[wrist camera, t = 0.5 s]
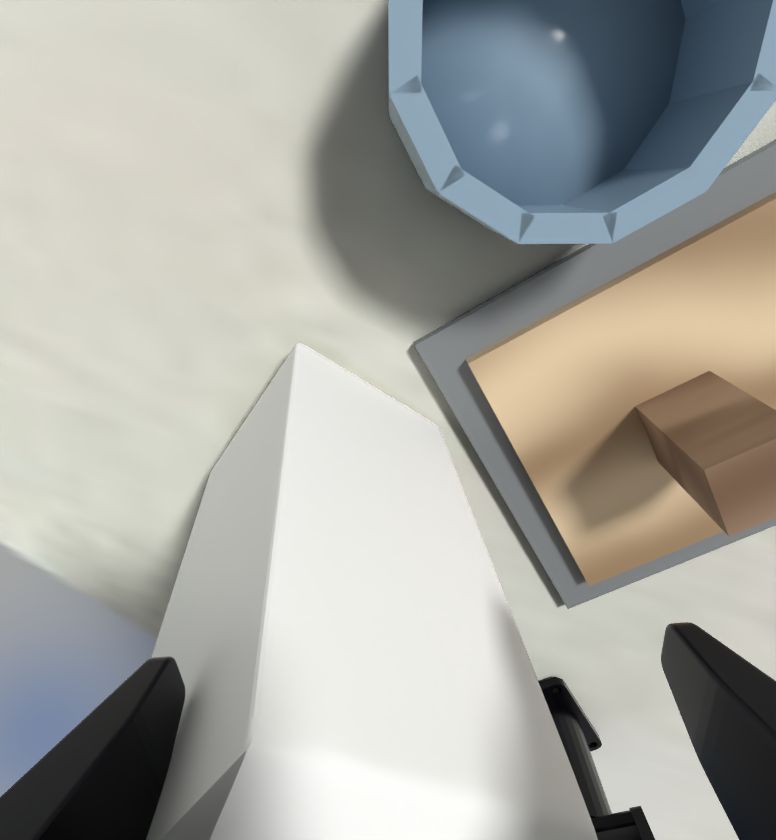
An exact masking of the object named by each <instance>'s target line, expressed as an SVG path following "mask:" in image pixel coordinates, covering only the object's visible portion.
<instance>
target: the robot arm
mask: <svg viewBox="0 0 776 840" xmlns="http://www.w3.org/2000/svg"><path fill="white" fill-rule="evenodd" d="M661 662H662V667H663V670H664V673H665V676H666V678H667V681H668V683H669V686H670V688H671V691H672V693H673V696H674V699H675V701H676V704H677V706H678V709H679V711H680V714H681V716H682V719H683V721H684V724H685V726H686V729H687V731H688V734H689V736H690V739H691V742H692V744H693V746H694V749H695V751H696V754H697V756H698V758H699V761H700V763H701V765H702V767H703V769H704V771H705V773H706V775H707V777H708V779H709V781H710V783H711V785H712V787H713V789H714V791H715V793H716V795H717V797H718V799H719V801H720V803H721V805H722V807H723V809H724V810H725V812H726V814H727V816H728V818H729V820H730V822H731V824H732V826H733V828H734V830H735V832H736V834H737V836H738V838H739V840H776V681H775V680H773V679H772V678H771V677H769V676H768V675H766V674H765V673H763V672H762V671H761V670H759V669H758V668H756V667H755V666H754V665H752V664H751V663H749V662H748V661H746V660H745V659H744V658H742V657H741V656H739V655H738V654H737V653H735V652H734V651H732V650H731V649H729V648H728V647H727V646H725V645H724V644H722V643H721V642H719V641H718V640H717V639H715V638H714V637H712V636H711V635H710V634H708V633H707V632H705V631H704V630H702V629H701V628H700V627H698V626H697V625H695V624H693V623H673V624H669V625H668V626H667V627H666V630H665V636H664V642H663V648H662V654H661ZM539 685H540V687H541V690H542V692H543V695H544V698H545V700H546V703H547V705H548V708H549V710H550V713H551V716H552V718H553V721H554V723H555V726H556V728H557V731H558V733H559V736H560V739H561V741H562V744H563V746H564V749H565V752H566V754H567V757H568V759H569V762H570V765H571V767H572V770H573V772H574V775H575V778H576V780H577V783H578V786H579V788H580V791H581V794H582V796H583V799H584V802H585V804H586V807H587V810H588V813H589V815H590V818H591V821H592V823H593V826H594V829H595V832H596V835H597V839H598V840H655V838H654V836H653V834H652V831H651V829H650V827H649V824H648V822H647V820H646V817H645V815H644V813H643V810H642V808H641V806H637V807H632V808H629V809H630V810H629V811H624V812H619V813H614V814H612V813H611V810H610V807H609V804H608V801H607V798H606V796H605V793H604V790H603V787H602V784H601V781H600V779H599V776H598V773H597V770H596V767H595V764H594V761H593V759H592V756H591V753H590V751H593V750H596V749H598V748H600V747H601V745H602V744H601V741H600V738H599V735H598V734H597V732H596V731H595V729H594V728H593V726H592V724H591V723H590V721H589V720H588V718H587V717H586V715H585V713H584V712H583V710H582V709H581V707H580V706H579V704H578V702H577V701H576V699H575V698H574V696H573V695H572V693H571V691H570V690H569V688H568V687H567V685H566V684H565V682H564V681H563V680H562V679H560V678H553V679H550V680H547V681H544V682H542V683H539ZM184 701H185V685H184V682H183V679H182V677H181V674H180V671H179V668H178V665H177V663H176V661H175V659H174V658H173V657H170V656H166V657H153V658H150V659H149V660H147V661H146V662H145V663H144V664H143V665H142V666H141V667H140V668H139V669H137V670H136V671H135V672H134V673H133V674H132V675H131V676H130V677H129V678H128V679H127V680H126V681H125V682H124V683H122V684H121V685H120V686H119V687H118V688H117V689H116V690H115V691H114V692H113V693H112V694H111V695H110V696H108V697H107V698H106V699H105V700H104V701H103V702H102V703H101V704H100V705H99V706H98V707H97V708H96V709H95V710H93V711H92V713H90V714H89V715H88V716H87V717H86V718H85V719H84V720H83V721H82V722H81V723H80V724H79V725H78V726H76V727H75V728H74V729H73V730H72V731H71V732H70V733H69V734H68V735H67V736H66V737H65V738H63V739H62V740H61V741H60V742H59V743H58V744H57V745H56V746H55V747H54V748H53V749H52V750H51V751H49V752H48V753H47V754H46V755H45V756H44V757H43V758H42V759H41V760H40V761H39V762H38V763H37V764H36V765H34V767H32V768H31V769H30V770H29V771H28V772H27V773H26V774H25V775H24V776H23V777H22V778H21V779H19V780H18V781H17V782H16V783H15V784H14V785H13V786H12V787H11V788H10V789H9V790H8V791H7V792H5V794H3V795H2V796H1V797H0V840H146V838H147V835H148V832H149V829H150V826H151V823H152V820H153V817H154V814H155V811H156V808H157V805H158V801H159V798H160V795H161V792H162V789H163V786H164V782H165V779H166V775H167V772H168V768H169V764H170V761H171V757H172V752H173V748H174V744H175V740H176V735H177V731H178V727H179V723H180V718H181V714H182V710H183V706H184Z"/></svg>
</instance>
